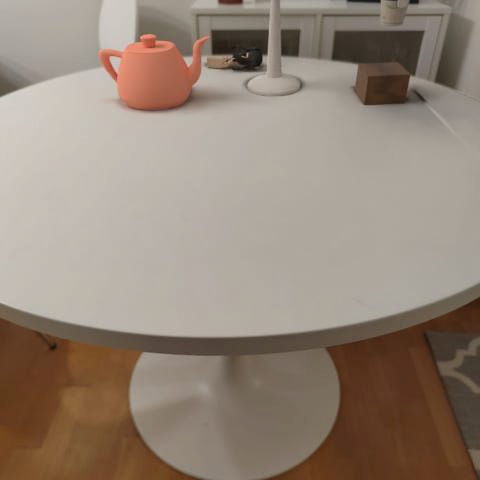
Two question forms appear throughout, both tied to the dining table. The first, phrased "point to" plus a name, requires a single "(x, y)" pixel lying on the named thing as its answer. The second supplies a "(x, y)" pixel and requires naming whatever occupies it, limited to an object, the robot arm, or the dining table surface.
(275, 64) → the candlestick
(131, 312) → the dining table surface
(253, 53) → the toy figure
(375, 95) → the walnut block
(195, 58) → the teapot
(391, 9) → the coffee cup
